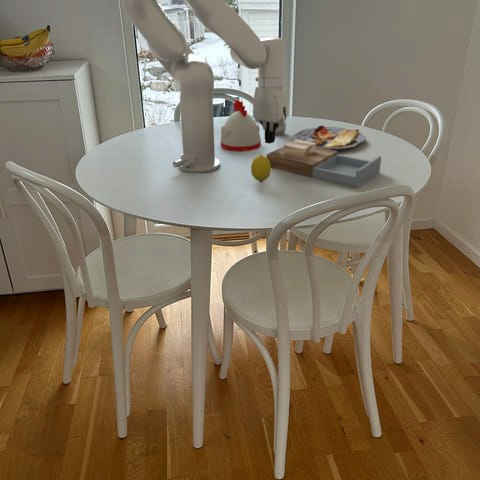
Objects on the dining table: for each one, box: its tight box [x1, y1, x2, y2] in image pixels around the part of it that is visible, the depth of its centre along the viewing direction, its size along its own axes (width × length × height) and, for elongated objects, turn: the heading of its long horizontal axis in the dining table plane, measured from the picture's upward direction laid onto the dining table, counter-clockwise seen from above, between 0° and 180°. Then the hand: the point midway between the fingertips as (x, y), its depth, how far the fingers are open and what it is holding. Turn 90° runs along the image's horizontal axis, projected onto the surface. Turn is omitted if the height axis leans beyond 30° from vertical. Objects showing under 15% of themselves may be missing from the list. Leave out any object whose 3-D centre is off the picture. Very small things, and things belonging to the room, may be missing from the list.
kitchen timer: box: [220, 99, 262, 152], centre depth 169 cm, size 14×14×15 cm
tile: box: [283, 140, 316, 157], centre depth 151 cm, size 7×7×2 cm
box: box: [312, 153, 382, 189], centre depth 144 cm, size 15×14×5 cm
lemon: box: [250, 154, 272, 183], centre depth 139 cm, size 6×6×8 cm
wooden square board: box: [266, 146, 338, 179], centre depth 152 cm, size 15×16×4 cm
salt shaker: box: [275, 125, 287, 136], centre depth 181 cm, size 6×6×13 cm
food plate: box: [292, 124, 367, 151], centre depth 174 cm, size 25×23×4 cm
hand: (269, 142), depth 157 cm, fingers closed
